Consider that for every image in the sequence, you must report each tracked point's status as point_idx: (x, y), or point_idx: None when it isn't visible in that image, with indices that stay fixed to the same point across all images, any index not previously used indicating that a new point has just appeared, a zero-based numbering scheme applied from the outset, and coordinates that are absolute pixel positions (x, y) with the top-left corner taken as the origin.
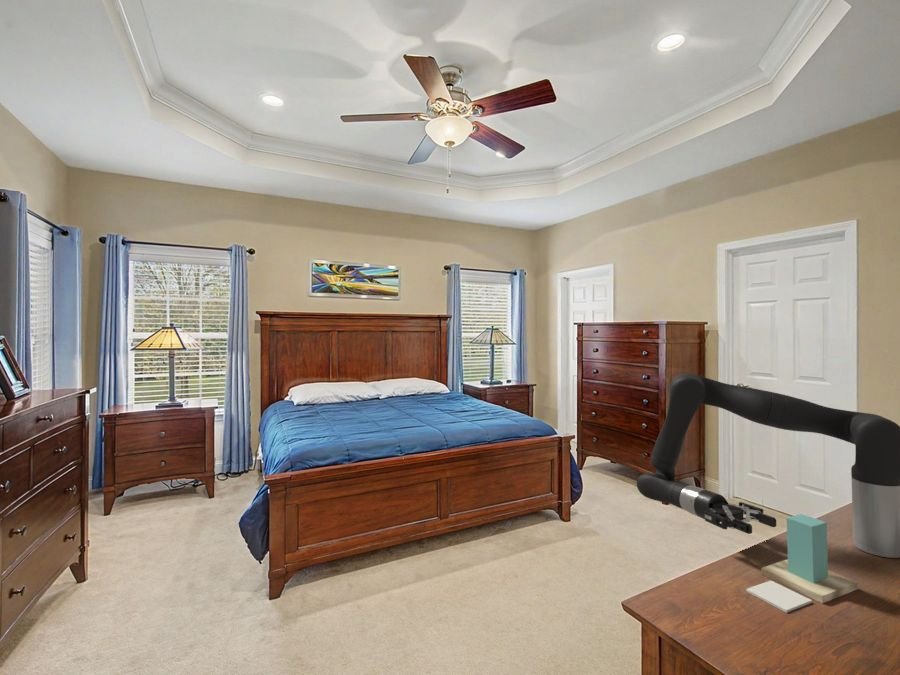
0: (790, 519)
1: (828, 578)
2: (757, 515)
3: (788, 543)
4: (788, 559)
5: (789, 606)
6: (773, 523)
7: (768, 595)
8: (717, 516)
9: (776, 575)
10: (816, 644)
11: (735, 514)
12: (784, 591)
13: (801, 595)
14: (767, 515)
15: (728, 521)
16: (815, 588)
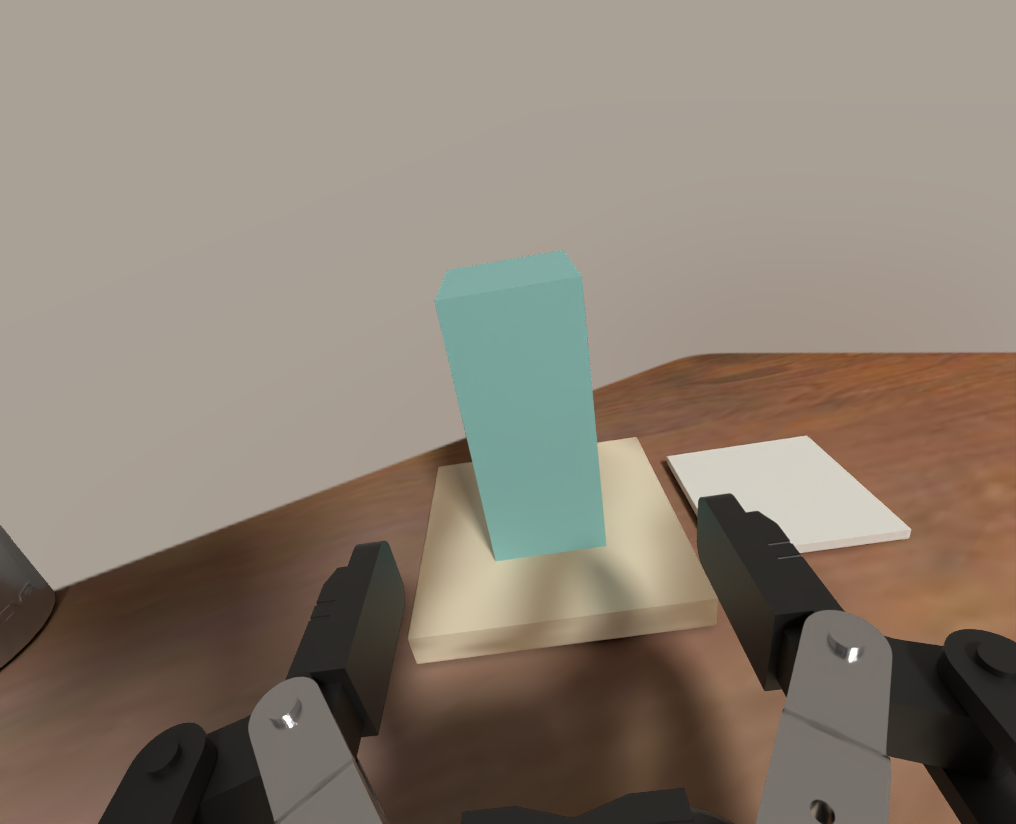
0: (577, 273)
1: None
2: (340, 719)
3: (594, 418)
4: (601, 493)
5: (778, 445)
6: (397, 572)
7: (819, 488)
8: None
9: (688, 541)
10: (805, 382)
11: (652, 798)
12: None
13: (680, 473)
14: (339, 599)
15: (918, 645)
16: (615, 461)
